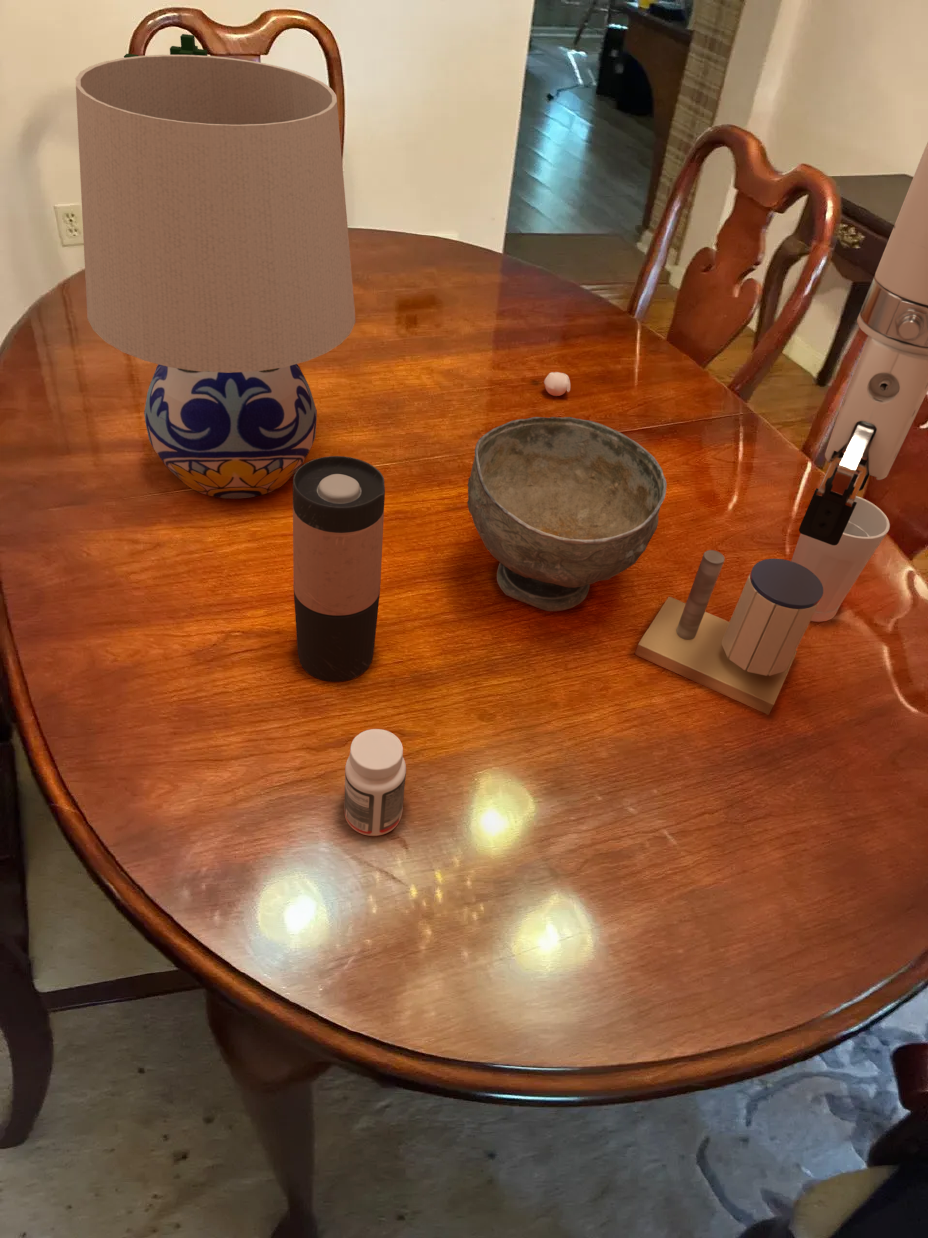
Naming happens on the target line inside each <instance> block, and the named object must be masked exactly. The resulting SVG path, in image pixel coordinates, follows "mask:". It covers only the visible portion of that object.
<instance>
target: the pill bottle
mask: <svg viewBox="0 0 928 1238" xmlns="http://www.w3.org/2000/svg"><path fill="white" fill-rule="evenodd" d="M403 746H404V745H403V744H402V742H401V739H400V738H399V737H398V736H397V735H396V734H394V733H392V732H391V731H389V730H386V729H382V728H370V729H366V730H363V731H362V732H359V734H357V735H356V736H355V737H354V738H353V739H352V742H351V744H350V747H349V756H348V758H347V760H346V763H345V765H344V766H345V767H344V768H345V769H344V803H343V804H344V805H343V809H344V812H343V813H344V817H345V820H346V822H347V824H348V826H349V827H350V828H351V829H353V830H354V831H355V832H357V833H359V834H361V835H365V836H370V837H377V836H378V837H379V836H383V835H386V834H388V833H390V832H391V831H393V830H394V829H395V828H396V827H397V826H398V825H399V824H400V821H401V819H402V817H403V810H404V801H405V800H404V799H405V787H406V786H405V785H406V777H407V765H406V761H405V758H404V747H403Z"/></svg>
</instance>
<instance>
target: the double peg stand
mask: <svg viewBox="0 0 928 1238" xmlns="http://www.w3.org/2000/svg"><path fill="white" fill-rule="evenodd" d="M725 560H726V558H725V556H724V554H723V553H721V552H719V551H718V550H714V549H709V550H706V551H704V553H703V555H702V558H701V560H700V563H699V566H698V568H697V572H696V574H695V577H694V579H693V582H692V585H691V588H690V590H689V593H688V596H687V599H686V602H683V601H681V600H679V599H677V598H675V597H672V596H668V597H667V598H666V600H665V601H664V603H663V604H662V606H661V608H660V609H659V611H658V613H657V614H656V616H655V617H654V619H653V620H652V622H651V623H650V625H649V627H648V628H647V629H646V631H645V632H644V634H643V635H642V637H641V639H640V640H639V642H638V644H637V645H636V648H635V653H634V655H635V656H637V657H639V658H640V659H641V658H642V659H643V660H646V661H648V662H650V663H653V664H654V665H657V666H659V667H660V668H661V667H662V668H664V669H666V670H668V671H670V672H672V673H675V674H677V675H680V676H682V677H683V678H686V679H688V680H690V681H692V682H695V683H697V684H699V685H701V686H704V687H705V688H708V689H710V690H711V691H714V692H717V693H720V694H721V695H723V696H726V697H728V698H730V699H732V700H734V701H737V702H738V703H741V704H743V705H745V706H747V707H750V708H752V709H754V710H757V711H759V712H761V713H762V714H763V713H764V714H765V715H768V716H770V714H771V712H772V710H773V708H774V706H775V704H776V701H777V699H778V697H779V694H780V692H781V689H782V687H783V685H784V683H785V681H786V678H787V676H788V674H789V671H790V669H791V667H792V664H793V662H794V660H795V658H796V655H797V653H798V650H797V649H796V651H795V654H794V656H793V658H792V660H791V662H790V664H789V666H788V668H787V670H785V671H784V672H781V673H778V674H774V675H771V676H769V675H767V676H765V675H761V674H756V673H751V672H747V669H746V670H743V669H742V668H741V667H739V666H738V665H736V664H735V663H734V662H732V661H731V660H729V658H728V657H727V655H726V653H725V651H724V649H723V646H722V639H723V637H724V634H725V632H726V630H727V627H728V625H729V622H730V621H728V620H726V619H724V618H721V617H719V616H717V615H714V614H712V613H709V612H707V611H706V610H707V607H708V605H709V602H710V599H711V597H712V595H713V592H714V589H715V587H716V584H717V581H718V579H719V576H720V573H721V571H722V569H723V566H724V564H725Z"/></svg>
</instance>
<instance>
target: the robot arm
mask: <svg viewBox="0 0 928 1238" xmlns="http://www.w3.org/2000/svg"><path fill="white" fill-rule="evenodd" d="M874 273H875V274H874V276H873V278H872V281H871V284H870V286H869V288H868V290H867V294H866V296H865V299H864V301H863V304H862V305H861V308H860V312H859V314H858V316H857V319H856V323H857V325H858V328H859V329H860V330H861V331H862V332H863V333H864V334H865V335H867V338H866V340H865V343H864V346H863V348H862V351H861V353H860V356H859V358H858V361H857V363H856V366H855V368H854V371H853V373H852V376H851V379H850V381H849V384H848V386H847V389H846V391H845V394H844V396H843V400H842V402H841V405H840V408H839V410H838V413H837V416H836V419H835V422H834V425H833V427H832V430H831V434H830V437H829V439H828V443H827V446H826V449H825V452H824V458H825V460H826V462H827V463H828V464H829V465H828V468H827V469H826V472H825V474H824V476H823V479H822V481H821V483H820V485H819V487H818V488H817V487H816V488H815V490H814V492H813V493H812V496H811V499H810V501H809V504H808V506H807V509H806V510H805V513H804V515H803V519H802V521H801V523H800V525H799V528H798V532H799V534H803V535H806V536H809V537H811V538H814V539H817V540H819V541H822V542H825V543H827V544H830V545H837V544H838V543H839V541H840V539H841V537H842V534H843V532H844V530H845V528H846V526H847V524H848V521H849V519H850V517H851V515H852V513H853V510H854V508H855V506H856V504H857V502H854V500H855V498H856V496H858V493H859V492H861V491H862V490H863V489H865V485H866V484H867V481H868V479H869V477H871V476H872V477H874V478H876V480H877V481H881V480H883V479H884V480H885V479H886V478H887V477H888V475H889V474H890V471H891V469H892V466H893V465H894V463H895V461H896V458H897V456H898V455H899V453H900V450H901V448H902V446H903V444H904V442H905V440H906V437H907V435H908V433H909V431H910V429H911V427H912V425H913V423H914V422H915V419H916V417H917V414H918V413H919V411H920V408H921V406H922V404H923V402H924V399H925V397H926V395H927V393H928V142H927V143H926V145H925V147H924V150H923V152H922V155H921V157H920V159H919V162H918V164H917V167H916V170H915V172H914V174H913V178H912V180H911V182H910V184H909V187H908V189H907V193H906V195H905V197H904V200H903V203H902V205H901V207H900V210H899V212H898V215H897V218H896V220H895V223H894V225H893V228H892V230H891V233H890V236H889V238H888V241H887V243H886V245H885V248H884V251H883V252H882V255H881V258H880V261H879V263H878V266H877V267H876V270H875V272H874Z"/></svg>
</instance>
